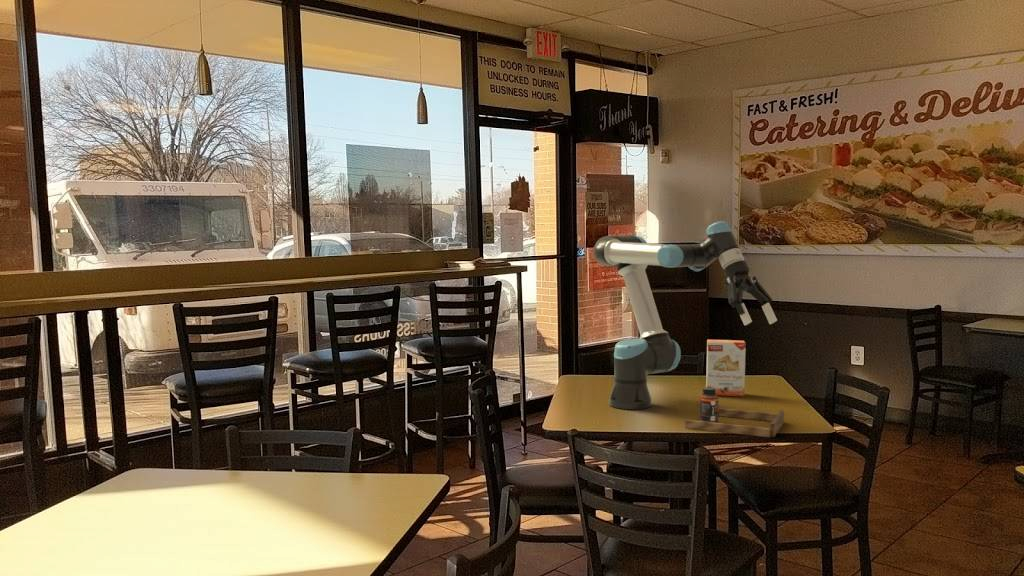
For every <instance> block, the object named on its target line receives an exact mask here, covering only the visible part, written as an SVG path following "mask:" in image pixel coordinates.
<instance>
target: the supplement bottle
mask: <svg viewBox="0 0 1024 576" xmlns="http://www.w3.org/2000/svg"><path fill="white" fill-rule="evenodd" d="M718 408H719V395H716V393H715V388H712V387H706V386H705V387H702V393H701V394H700V395H699V418H698V419H699V420H698V421H704V422H713V423H719V422H718V421H719V416H718Z"/></svg>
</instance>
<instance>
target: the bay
mask: <svg viewBox="0 0 1024 576" xmlns="http://www.w3.org/2000/svg"><path fill="white" fill-rule="evenodd" d="M723 416H724V417H725V418H734V419H743V420H744V419H745V420H754V419H755V421H763V420H767V421H766V422H770V427H769V428H768V427H760V426H759V427H758V426H752V425H751V426H750V425H739V424H732V423H722V422H717V423H713V422H704V421H700V420H695V419H694V420H692V419H685V420H684V423H685V424H684V428H685V429H690V430H691V429H692V430H700V431H711V432H716V431H718V432H719V433H727V434H737V435H744V436H755V437H764V438H775V437H776V435H777V434H776V433H778V432H779V431H780V429H781V428H782V426H783V425H782V424H784V422H785V411H784V410H782V409H781V410H779V411H778V413H774V412H773V413H772V412H762V411H752V410H751V411H750V410H742V409H741V410H740V409H731V408H723V407H718V417H723ZM780 427H781V428H780ZM778 430H779V431H778ZM718 432H717V433H718Z"/></svg>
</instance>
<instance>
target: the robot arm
mask: <svg viewBox="0 0 1024 576" xmlns="http://www.w3.org/2000/svg"><path fill="white" fill-rule="evenodd" d="M705 232H706V236H707V237H706V238H705V239H704V240H702V241H701V242H700V243H695V244H693V243H692V244H691V243H690V244H671V243H668V244H665V243H651V242H650V243H648V242H647V241H646V239H644V238H643V237H642V236H639V235H633V234H629V235H628V234H626V235H605V236H602V237H601V238H599V239H598V240H597V241H596V243H595V245H594V246H593V256H594V259H595V260H596V262H598V263H599V264H600V265H602V266H605V267H616V271H617V274H618V275H619V276H621V277H623V281H624V284H625V287H626V291H627V295H628V298H629V300H630V305H631V308H632V311H633V314H634V317H635V321H636V325H637V328H638V331H639V338H629V339H623V340H620V341H618V342H617V343H615V346H614V353H613V363H614V364H613V368H614V369H613V370H614V372H613V373H614V375H613V377H614V378H613V380H614V381H613V387H612V389H611V392H610V395H609V399H608V404H609V406H610V407H613V408H617V409H621V410H622V409H623V410H643V409H648V408H651V407H652V406H653V405H652V404H653V403H652V397H651V393H650V390H649V387H648V375H652V374H658V373H667V372H670V371H672V370H674V369H676V368H677V367H678V365H679V363H680V360H681V358H682V357H681V356H682V355H681V354H682V353H681V352H682V351H681V347H680V345H679V344H678V342H677V341H675V339H671V337H670V334H669V332H668V331H666V330H665V329H663V325H662V321H661V318H660V315H659V311H658V308H657V305H656V303H655V302H656V301H655V299H654V295H653V291H652V289H651V286H650V281H649V278H648V275H647V272H646V269H647V268H648V266H659V267H664V268H669V269H670V268H673V269H674V268H684V267H686V268H687V267H688V268H689V269H690V270H692V271H693V272H701V271H702V270H704V269H706V268H708V267H709V265H711V264H712V263H713V262H715V261H716V260H717V259H718V261H719V263H720V265H721V268H722V269H723V271H724V272H723V273H724V274H725V276H726V278H725V280H724V281H725V284H726V288H727V298H728V304H729V305H730V306H731V308H735V309H736V311H737V313H738V314H739V316H740V319H741V321H742V323H743V325H744V326H748V325H749V324H751V323H752V322H753V320H752V318H751V315H750V314H749V312H748V309H747V307H746V304H745V303H744V302H742V301H743V292H746V293H748V294H750V295H751V296H752V297H754V299H756V300H757V302H759V304H761V306H760V307H761V308H762V312H763V313H764V315H765V317H766V319H767V322H768V324H769V325H772V324H774V323H776V322H777V321H778V318H777V317H776V314H775V312H774V310H773V308H772V306H771V304H770V303H771V302H772V301H773V298H772V297H771V296H770V295H769V293H768V292H767V291H766V289H765V288H764V287H763V286H762V285H761V283H760V282H759V281H758V279H757V277H756V276H753V277H750V276H749V273H750V268H749V266H748V263H747V261H746V260H745V257H744V255H743V253H742V250H741V249H740V247H739V245H738V243H737V241H736V238H735V236H734V232H733V230H731V227H730V225H729V224H728V222H726V221H722V220H721V221H716V222H714V223H712V224H710V225H708V226H707V228H706V230H705Z"/></svg>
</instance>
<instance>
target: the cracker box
mask: <svg viewBox="0 0 1024 576" xmlns="http://www.w3.org/2000/svg"><path fill="white" fill-rule="evenodd" d="M746 343H747V342H745V340H739V339H738V340H734V339H733V340H732V339H707V340H706V374H705V375H706V377H705V378H706V380H705V381H706V382H705V387H712V388H715V393H716V395H717V396H723V397H745V382H746V381H745V379H746V351H747V349H746V345H747V344H746Z"/></svg>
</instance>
